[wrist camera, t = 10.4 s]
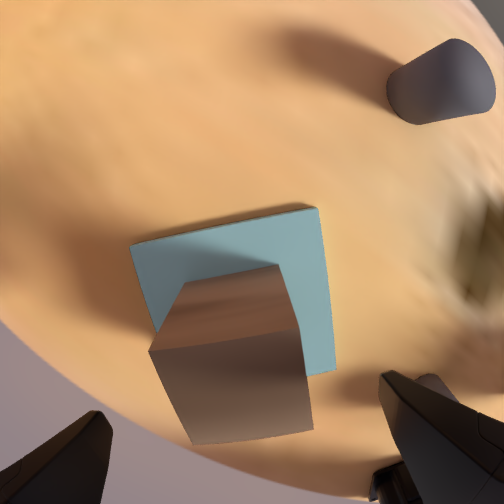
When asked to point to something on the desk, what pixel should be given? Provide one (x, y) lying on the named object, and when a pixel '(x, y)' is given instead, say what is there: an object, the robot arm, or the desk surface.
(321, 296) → the pale teal mat
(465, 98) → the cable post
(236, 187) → the desk surface
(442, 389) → the cylinder
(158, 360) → the walnut block
